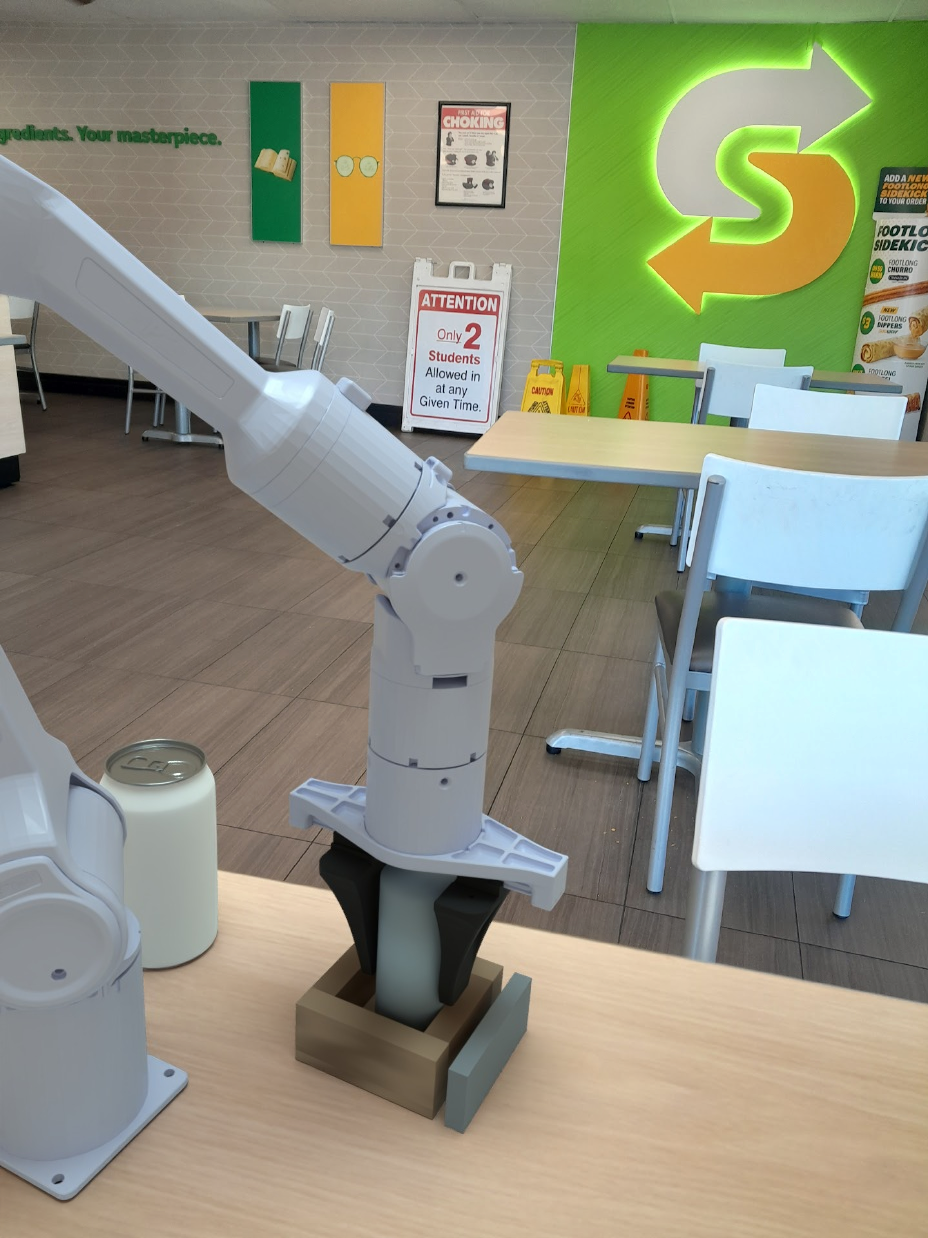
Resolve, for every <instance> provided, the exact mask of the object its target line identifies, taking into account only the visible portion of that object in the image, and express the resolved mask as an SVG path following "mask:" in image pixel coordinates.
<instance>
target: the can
mask: <svg viewBox="0 0 928 1238" xmlns="http://www.w3.org/2000/svg"><path fill="white" fill-rule="evenodd" d="M207 762H208V755H207V753H206V751H205V750H204V749H203V748H202V747H200V746H199V745H197V744H195V743H192V742H189V741H187V740H182V739H177V738H175V739H174V738H153V739H145V740H139V741H135V742H132V743H129V744H125V745H123V746H121V747H118V748H117V749H115V750H113V751H112V752H111V753H110V754H108V756H106V758H105V760H104V762H103V771H104V772H103V775H102V777H101V780H100V781H99V783H98V784H99V785H101V786H102V787H104V788H105V789H107V790H108V791H109V792H110V793H111V794H112V795H113V796H114V797H115V799H116V800H117V801H118V803H119V804H120V806H121V808H122V810H123V812H124V815H125V819H126V827H127V837H126V841H125V845H124V849H123V852H124V903H125V905H126V906H127V907H128V908H129V909H130V910H131V911H132V913H133V914H134V915H135V917H136V918H137V920H138V922H139V925H140V929H141V945H142V965H143V970H165V969H171V968H175V967H178V966H179V967H180V966H182V965H184V964H187V963H189V962H191V961H193V960H195V959H197V958H199V956H201V955H203V953H204V952H205V951H207V950H208V949H209V948H210V947H211V946H212V945H213V943H214V941H215V939H216V937H217V934H218V931H219V930H218V929H219V899H218V898H219V894H218V893H219V887H218V886H219V883H218V882H219V880H218V877H219V875H218V841H217V840H218V835H217V832H218V831H217V830H218V829H217V828H218V827H217V800H216V799H217V798H216V796H217V794H216V782H215V781H216V779H215V777H214V775H213V772H212V770H211V768H210V767H209V766H208V764H207Z"/></svg>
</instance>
